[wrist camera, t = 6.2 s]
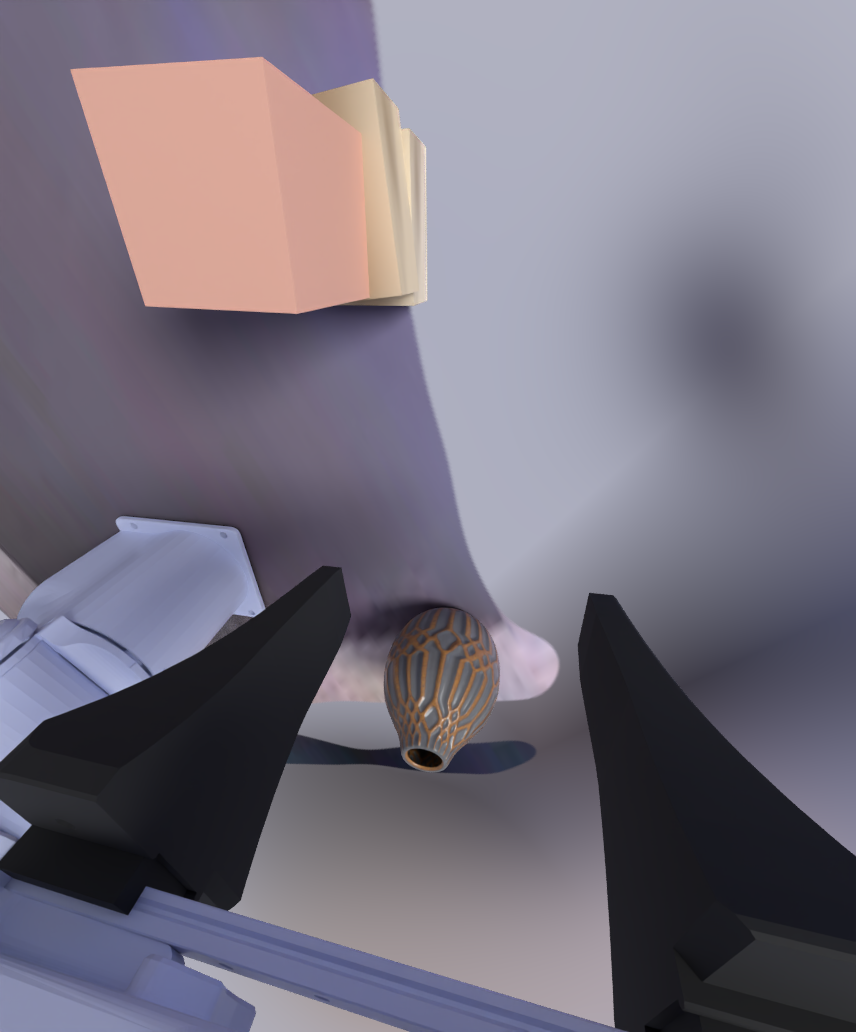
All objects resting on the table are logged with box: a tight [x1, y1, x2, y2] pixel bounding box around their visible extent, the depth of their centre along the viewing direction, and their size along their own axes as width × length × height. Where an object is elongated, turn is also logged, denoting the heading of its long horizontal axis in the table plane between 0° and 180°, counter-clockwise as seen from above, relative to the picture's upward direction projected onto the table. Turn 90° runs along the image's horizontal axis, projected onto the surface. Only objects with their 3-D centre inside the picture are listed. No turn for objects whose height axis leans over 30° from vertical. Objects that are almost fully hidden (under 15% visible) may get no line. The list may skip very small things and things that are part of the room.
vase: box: [384, 608, 500, 772], centre depth 24 cm, size 7×7×9 cm
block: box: [70, 57, 370, 314], centre depth 10 cm, size 4×4×5 cm
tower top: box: [267, 78, 419, 313], centre depth 13 cm, size 5×5×2 cm
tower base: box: [339, 129, 427, 306], centre depth 16 cm, size 5×5×2 cm
